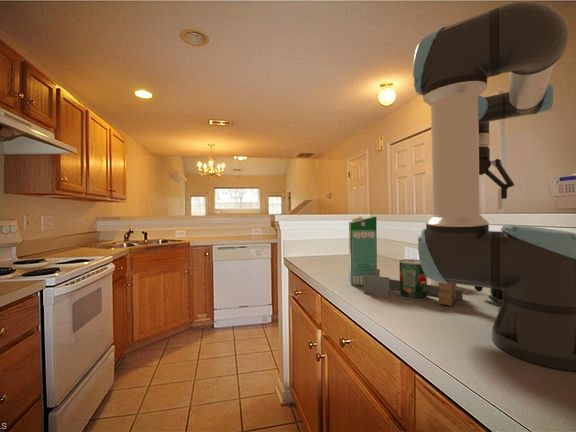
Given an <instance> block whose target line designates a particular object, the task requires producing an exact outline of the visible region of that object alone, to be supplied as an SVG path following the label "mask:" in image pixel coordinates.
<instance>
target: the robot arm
mask: <svg viewBox="0 0 576 432" xmlns="http://www.w3.org/2000/svg"><path fill="white" fill-rule="evenodd" d="M569 39H570V29H569V25H568V22H567V20H566V18H565V17H564V15H563V14H562V13H561V12H560V11H558V10H557V9H556V8H554V7H552V6H550V5H547V4H545V3H543V2H537V1H533V0H531V1H530V0H520V1H513V2H509V3H506V4H503V5H500V6H497V7H496V8H493V9H491V10H488V11H485V12H482V13H480V14H477V15H474V16H472V17H469V18H466V19H464V20H461V21H458V22H456V23H453V24H450V25H447V26H442V27H440V28H438V29H437V30H435V31H433V32H431V33H427V34H426V35H424V36H423V37H422V38H421V39H420V41H419V42H418V44H417V45H416V48H415V52H414V57H413V64H412V65H413V67H412V77H413V87H414V89H415V92H416V94H417V95H421V96H422V100H423V102H424V103H426V104H427V105H428V106H430V114H431V117H430V118H431V119H430V120H431V125H430V126H431V156H432V159H431V160H432V162H431V164H432V165H431V166H432V168H431V169H432V193H433V194H432V196H433V197H432V201H433V202H432V204H433V205H432V206H433V208H432V209H433V210H432V211H433V214H432V216H431V217H430V218H429V219H428V220H427V221H426V222H425V227H426V228H423V229H421V230H419V233H418V236H417V241H418V242H417V253H418V260H420V264H421V267H422V270H423V272H424V273H425V275H426V276H427V279H428V280H429V279H431V280H434V281H440V282H446V283H448V284H452V283H453V284H456V285H463V286H470V287H474V286H477V287H483V288H487V289H491V288H494V289H501V290H502V291H503V302H502V305H500V309H499V311H498V313H497V314H496V317H495V320H494V323H493V325H492V328H491V341H492V342H493V344H494V345H495V346H497V348H499V349H501V350H502V351H503V352H506V353H507V354H510V355H512V356H514V357H517V358H518V359H521V360H524V361H527V362H530V363H533V364H535V365H540V366H544V367H547V368H552V369H558V370H563V371H571V372H576V232H572V231H566V230H559V229H553V228H545V227H537V226H536V227H535V226H528V225H516V224H504V225H503V224H502V227H501V228H500V231H494V230H493V231H492V230H490V228H489V227H490V226H489V225H490V224H489V221H488V220H487V219H486V218H485V217H483V216H482V215H481V214H480V212H481V211H480V210H481V209H480V205H481V204H480V176H483V175H486V176H487V177H488V178H489V179H491V181H493V182H494V184H496V185H497V186H499V187H500V188H498V189H497V209H498V210H504V199H505V200H506V199H507V198H508V189H510V188H511V187H514V186H515V183H514V182H513V180H512V178H511V177H510V175H509V174H508V173H507V171H506V169H505V167H503V162H502V160H501V159H499V158H497V159H495V160H491V156H490V155H491V153H490V151H491V150H490V142H491V141H490V137H491V136H490V135H491V134H490V122H493V121H500V120H506V119H511V118H517V117H523V116H529V115H537V114H539V113H544V112H548V111H550V110H551V109H552V108H553V104H554V95H555V94H554V92H555V91H554V85H553V84H552V83H549V82H550V78H551V77H552V72H553V69H554V66H555V64H556V63H557V62H558V61H559V60H560V59H561V58H562V57H563V55H564V53H565V51H566V49H567V46H568V43H569ZM506 73H509V91H507V92H502V93H498V94H494V95H488V96H485V97H484V96H482V94H483V93H484V92H485V91H486V90H487V89H488V78H491V77H492V78H493V77H495V76H499V75H502V74H506ZM492 166H493V167H496V169H497V171H498V172H499V174H500V176H501V177H502V179H503V180H504V181H505V183H504V182H503V181H502V180H501V179H500V178H498V177H497V176H496V175H495V174H494V173H493V172H492V171H491V170H490V168H491V167H492Z"/></svg>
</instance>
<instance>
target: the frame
mask: <svg viewBox="0 0 576 432" xmlns="http://www.w3.org/2000/svg"><path fill="white" fill-rule="evenodd" d="M380 273H381V272H380V268H377V270H374V271H372V272H370V273H367V274H365V275H364V285H363V294H368V295H374V296H379V297H384V298H390V296H391V295H390V294H391V289H392V290H399V291H400V279H391V277H387V276H386V277H385V276H381V274H380ZM463 291H464V290H463V289H462V288H457V287H456V299H455V300H461V301H462V300H463V299H464V298H463V295H464V294H463ZM429 294H430V295H431V296H435V297H436V296H437V297H439V286H435V285H431V284H428V283H427V295H429Z"/></svg>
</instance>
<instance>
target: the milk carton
mask: <svg viewBox="0 0 576 432" xmlns="http://www.w3.org/2000/svg"><path fill="white" fill-rule="evenodd" d="M377 239H378V238H377V216H373V215H371V216H369V217H364V218H363V216H357V217H354V218H351V221H349V222H348V252H349V253H348V259H349V260H348V262H349V263H348V265H349V266H348V267H349V269H348V271H349V272H348V275H349V276H348V277H349V282H350V284H351V286H364V275H365V274H367V273H370V272H372V271H374V270H377V269H378V268H377V267H378V263H377V262H378V255H377V254H378V253H377V252H378V251H377V250H378V248H377V245H378V244H377Z"/></svg>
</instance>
